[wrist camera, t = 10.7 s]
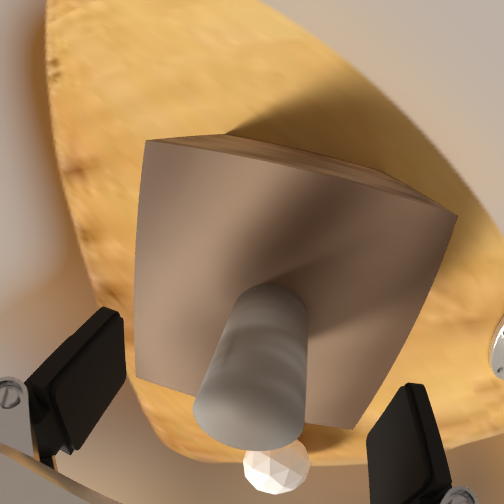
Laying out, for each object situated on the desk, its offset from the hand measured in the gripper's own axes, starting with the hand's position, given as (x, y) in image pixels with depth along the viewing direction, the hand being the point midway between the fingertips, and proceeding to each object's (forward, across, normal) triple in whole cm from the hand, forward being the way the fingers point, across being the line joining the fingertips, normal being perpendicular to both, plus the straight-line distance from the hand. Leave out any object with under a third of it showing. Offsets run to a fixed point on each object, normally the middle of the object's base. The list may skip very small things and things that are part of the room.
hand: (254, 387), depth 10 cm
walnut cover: (+17, 0, 0) cm, 17 cm away
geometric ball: (+17, -6, +26) cm, 32 cm away
